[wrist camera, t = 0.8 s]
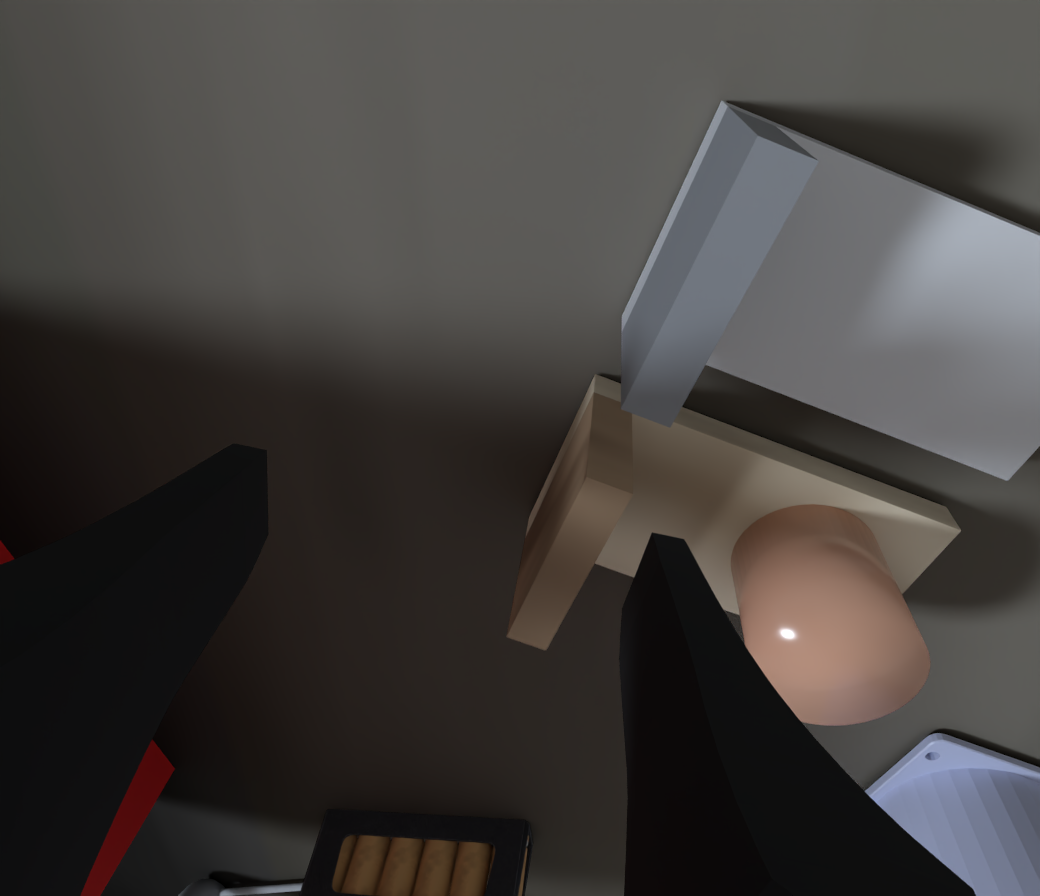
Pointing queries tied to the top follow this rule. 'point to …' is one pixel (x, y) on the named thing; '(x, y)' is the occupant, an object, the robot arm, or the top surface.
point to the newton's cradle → (234, 889)
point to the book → (124, 806)
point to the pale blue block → (840, 297)
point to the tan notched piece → (687, 505)
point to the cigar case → (418, 855)
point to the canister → (826, 616)
